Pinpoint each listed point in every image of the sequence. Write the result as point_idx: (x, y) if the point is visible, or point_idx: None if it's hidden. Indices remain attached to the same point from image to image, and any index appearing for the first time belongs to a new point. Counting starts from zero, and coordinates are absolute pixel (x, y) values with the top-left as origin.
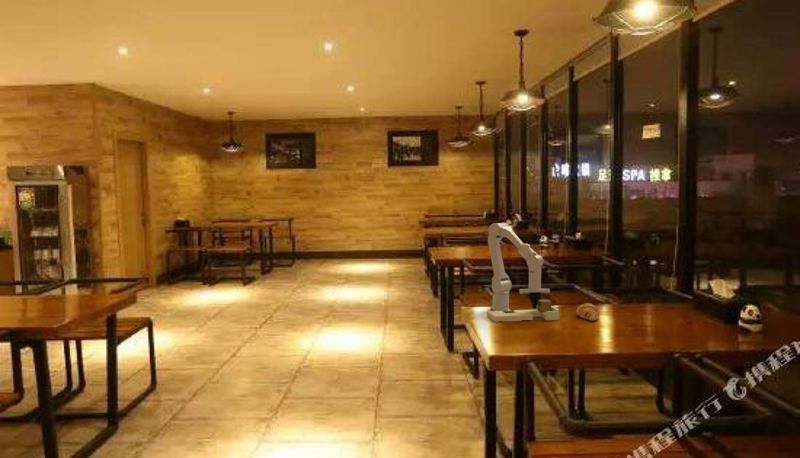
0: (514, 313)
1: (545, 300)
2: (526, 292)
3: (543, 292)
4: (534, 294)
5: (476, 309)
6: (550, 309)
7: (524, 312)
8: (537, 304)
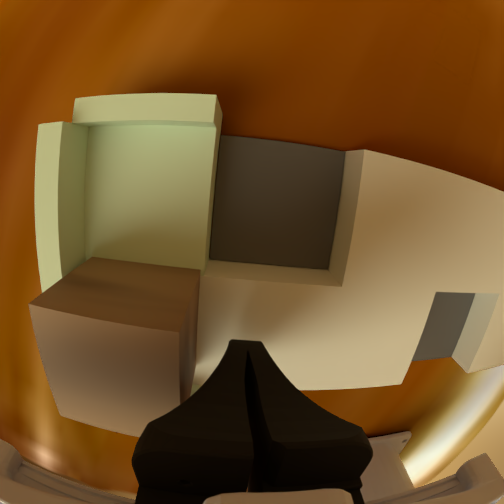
0: (464, 271)
1: (88, 388)
2: (409, 501)
3: (77, 490)
4: (278, 483)
5: (433, 462)
6: (87, 266)
7: (376, 294)
8: None
